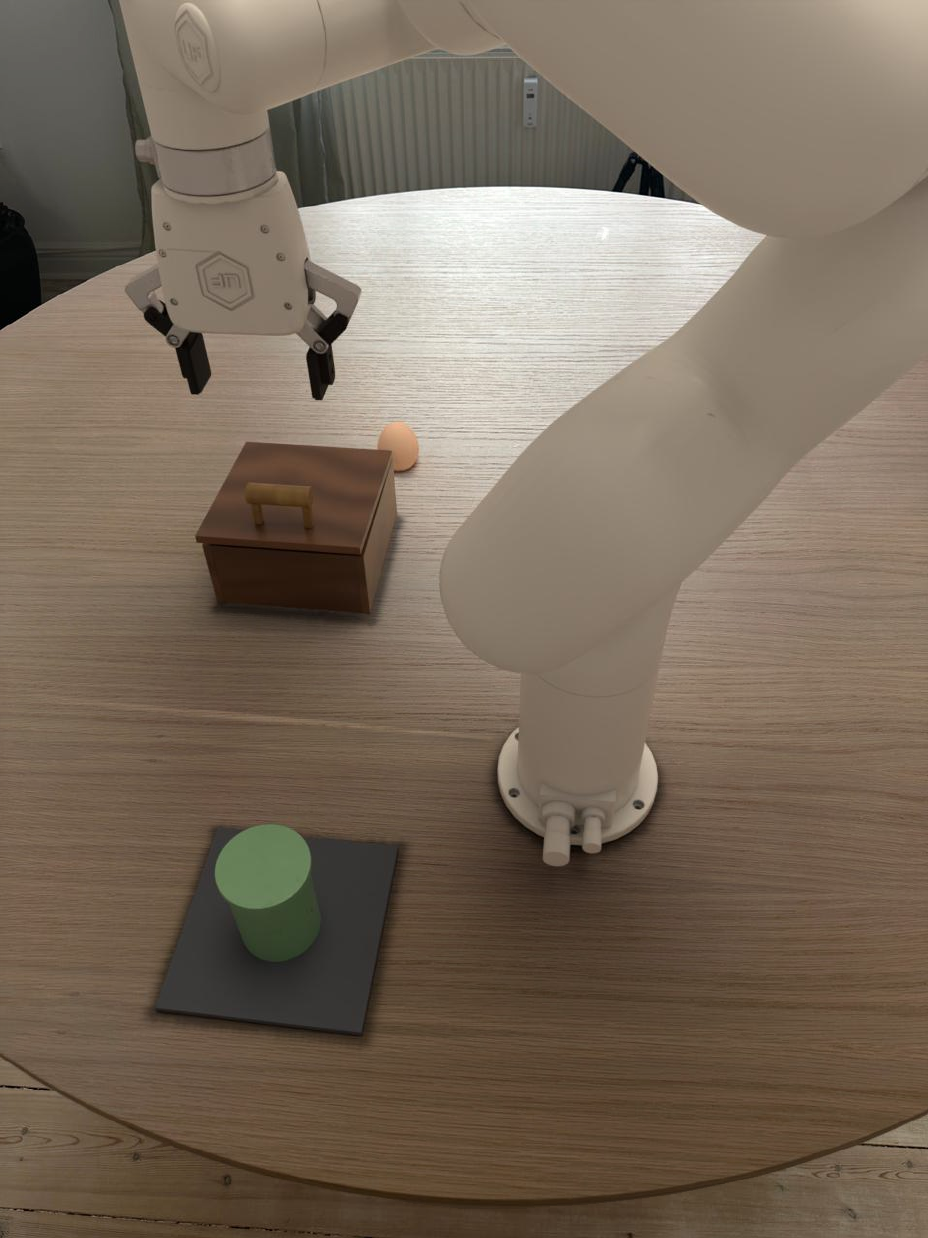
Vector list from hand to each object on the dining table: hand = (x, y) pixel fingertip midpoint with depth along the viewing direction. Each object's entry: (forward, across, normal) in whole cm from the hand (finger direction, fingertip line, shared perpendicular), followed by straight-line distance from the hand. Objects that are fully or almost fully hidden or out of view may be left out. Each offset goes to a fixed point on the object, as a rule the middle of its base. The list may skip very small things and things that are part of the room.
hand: (261, 387), depth 76 cm
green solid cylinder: (+23, +6, -32) cm, 40 cm away
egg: (+23, +6, +22) cm, 32 cm away
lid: (+15, 0, +5) cm, 16 cm away
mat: (+24, +6, -32) cm, 40 cm away
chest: (+23, 0, +6) cm, 24 cm away
